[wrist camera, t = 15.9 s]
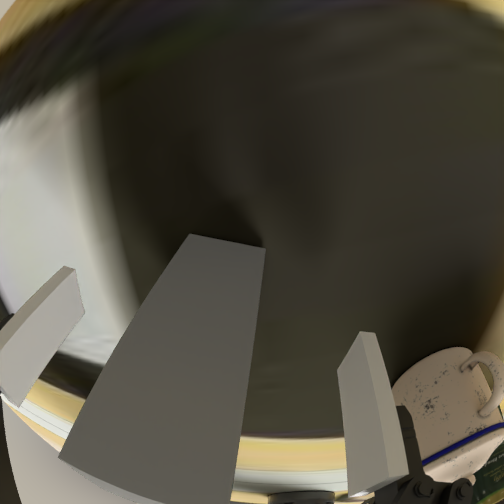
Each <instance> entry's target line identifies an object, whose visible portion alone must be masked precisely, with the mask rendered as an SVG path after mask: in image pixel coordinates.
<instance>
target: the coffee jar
mask: <svg viewBox="0 0 504 504" xmlns="http://www.w3.org/2000/svg"><path fill="white" fill-rule="evenodd" d="M498 409H499V411H500V414H501V417H502V419H503V416H502V412H501V409H500V405H498ZM503 422H504V420H503ZM473 475H474V476H475V479H476V481H475V483H474V485H472V486H473V495H472V500H471V504H504V440H503V442H502V443H501V444H500V445H499V446H498V447H497V448H496V449H495V450H494V451H493V453H492V454H491V455H490V457H489V459H488V460H487V462H486V463H485V464H484V465H483V466H482V467H481V468H480V469H479V470H478V471H476V472H475V473H473Z"/></svg>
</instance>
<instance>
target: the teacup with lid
mask: <svg viewBox="0 0 504 504" xmlns="http://www.w3.org/2000/svg"><path fill="white" fill-rule="evenodd" d="M479 362H481V363H483V364H484V365H486V366H487V367H488V369H489V370H490V372H491V374H492V377H493V381H494V386H493V392H491V390H490V388H489V385H488V383H487V381H486V379H485V377H484V375H483V373H482V371H481V369H480V366H479V364H478V363H479ZM392 394H393V398H394V402H395V406H402V405H405V406H406V408H407V409H408V411H409V413H410V414H411V416H412V420H413V424H414V429H415V432H416V438H417V441H418V445H419V450H420V455H421V460H422V465H423V469H424V472H425V474H426V475H429V476H430V477H432V478H433V480H434V481H438V482H450V483H452V482H454V481H456V480H458V479H460V478H467V479H469V480H470V482H471V483H472V485H474V483H475V481H476V479H475V476H474V475H473V473H475V472H476V471H478V470H479V469H480V468H481V467H482V466H483V465H484V464H485V463H486V462H487V460H488V459H489V457H490V455H491V454H492V453H493V451H494V450H495V449H496V448H497V447H498V446H499V445H500V444H501V443H502V442H503V440H504V422H503V419H502V417H501V414H500V411H499V409H498V405H499V404H500V403H501V401H502V400H503V398H504V364H503V362H502V361H501V360H500V358H499V357H498V356H496V355H495V354H493V353H491V352H488V351H481V352H477V353H474V354H473V353H472V352H471V351H470V350H469V349H467V348H464V347H452V348H448V349H444V350H441V351H438V352H436V353H434V354H431V355H429V356H428V357H426V358H424V359H422V360H421V361H419V362H417V363H416V364H415V365H413V366H412V367H411V368H409V369H408V370H407V371H406V372H405V373H404V374H403V375H402V376H401V377H400V378H399V379H398V380H397V381H396V383H395V384H394V386H393V388H392Z"/></svg>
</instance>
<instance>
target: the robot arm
mask: <svg viewBox="0 0 504 504" xmlns="http://www.w3.org/2000/svg"><path fill="white" fill-rule="evenodd" d="M84 314H85V311H84V307H83V303H82V299H81V295H80V290H79V286H78V281H77V276H76V271H75V269H72V268H69V267H66V266H63V267H62V268H61V269H60V270H59V271H58V272H57V273H56V274H55V275H53V276H52V277H51V278H50V279H49V280H48V281H47V282H46V283H45V284H44V285H43V286H42V287H41V288H40V289H39V290H38V291H37V292H36V293H35V294H34V295H33V296H32V297H31V298H30V299H29V300H28V301H27V302H26V303H25V304H24V305H23V306H22V307H21V308H20V309H19V310H18V311H17V313H16V314H14V313H12V314H11V315H9V316H7V317H6V318H4V319H3V320H2V321H1V323H0V394H1V392H2V393H3V394H4V396H5V397H6V398H7V399H8V400H9V401H10V402H11V403H13V404H14V405H15V406H17V407H18V408H19V407H20V405H21V404H22V402H23V400H24V399H25V397H26V396H27V394H28V392H29V391H30V389H31V388H32V386H33V385H34V383H35V381H36V380H37V378H38V377H39V375H40V374H41V372H42V371H43V369H44V368H45V367H46V365H47V364H48V362H49V361H50V359H51V358H52V357H53V355H54V354H55V352H56V351H57V350H58V348H59V347H60V345H61V344H62V343H63V341H64V340H65V339H66V337H67V336H68V335H69V333H70V332H71V331H72V329H73V328H74V327H75V325H76V324H77V323H78V321H79V320H80V319H81V318H82V316H83V315H84ZM337 373H338V381H339V389H340V397H341V406H342V415H343V425H344V435H345V447H346V461H347V478H348V497H356V496H364V495H368V494H370V493H372V492H374V493H375V497H372V498H370V499H367V500H365V501H364V502H363V503H362V504H471V500H472V495H473V486H472V483H471V482H470V480H469V479H467V478H460V479H458V480H456V481H454V482H452V483H450V482H438V481H434V480H433V478H432V477H430V476H429V475H426V474H425V472H424V469H423V465H422V460H421V455H420V450H419V445H418V441H417V438H416V432H415V429H414V424H413V420H412V416H411V414H410V413H409V411H408V409H407V408H406V406H405V405H402V406H395V402H394V398H393V394H392V390H391V386H390V382H389V379H388V375H387V371H386V368H385V364H384V361H383V357H382V354H381V351H380V348H379V344H378V341H377V338H376V335H375V333H370V332H362V331H360V332H359V334H358V336H357V337H356V339H355V341H354V343H353V344H352V346H351V348H350V350H349V351H348V353H347V355H346V356H345V358H344V360H343V361H342V363H341V365H340V366H339V368H338V370H337ZM334 501H335V494H334V493H332V492H321V491H311V492H290V493H279V494H273V495H270V496H269V497H268V504H334ZM0 504H22V503H21V500H20V497H19V494H18V490H17V487H16V484H15V480H14V476H13V472H12V467H11V463H10V458H9V454H8V448H7V442H6V436H5V428H4V420H3V408H2V399H1V396H0Z"/></svg>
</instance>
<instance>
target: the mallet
mask: <svg viewBox="0 0 504 504" xmlns="http://www.w3.org/2000/svg"><path fill="white" fill-rule="evenodd" d="M265 252H266V249H265V248H260V247H255V246H250V245H245V244H240V243H234V242H229V241H224V240H219V239H214V238H209V237H204V236H199V235H194V234H189V235H188V237H187V238H186V239H185V241H184V242H183V244H182V245H181V247H180V248H179V249H178V251H177V252H176V254H175V255H174V257H173V258H172V260H171V261H170V263H169V264H168V265H167V267H166V268H165V270H164V271H163V273H162V274H161V276H160V277H159V279H158V280H157V282H156V283H155V285H154V287H153V288H152V290H151V291H150V293H149V294H148V296H147V297H146V299H145V300H144V302H143V304H142V305H141V307H140V308H139V310H138V311H137V313H136V315H135V316H134V318H133V319H132V321H131V323H130V324H129V326H128V328H127V329H126V331H125V333H124V334H123V336H122V337H121V339H120V341H119V343H118V344H117V346H116V348H115V349H114V351H113V353H112V354H111V356H110V358H109V360H108V361H107V363H106V365H105V367H104V368H103V370H102V372H101V374H100V375H99V377H98V379H97V381H96V383H95V385H94V386H93V388H92V390H91V392H90V394H89V396H88V397H87V399H86V401H85V403H84V405H83V407H82V409H81V411H80V413H79V415H78V417H77V419H76V421H75V423H74V425H73V427H72V429H71V431H70V433H69V435H68V437H67V439H66V441H65V443H64V445H63V448H62V450H61V452H60V454H59V456H58V458H59V459H60V460H62V461H63V462H64V463H66V464H67V465H68V466H70V467H71V468H72V469H74V470H75V471H76V472H78V473H80V474H81V475H82V476H84V477H85V478H87V479H88V480H90V481H92V482H93V483H94V484H96V485H97V486H99V487H100V488H102V489H104V490H106V491H108V492H111V493H113V494H116V495H118V496H120V497H123V498H126V499H128V500H131V501H133V502H136V503H139V504H230V499H231V493H232V487H233V480H234V474H235V468H236V461H237V455H238V448H239V442H240V435H241V428H242V422H243V415H244V408H245V401H246V394H247V387H248V380H249V373H250V366H251V359H252V352H253V344H254V337H255V329H256V322H257V314H258V307H259V299H260V292H261V284H262V276H263V268H264V260H265Z"/></svg>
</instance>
